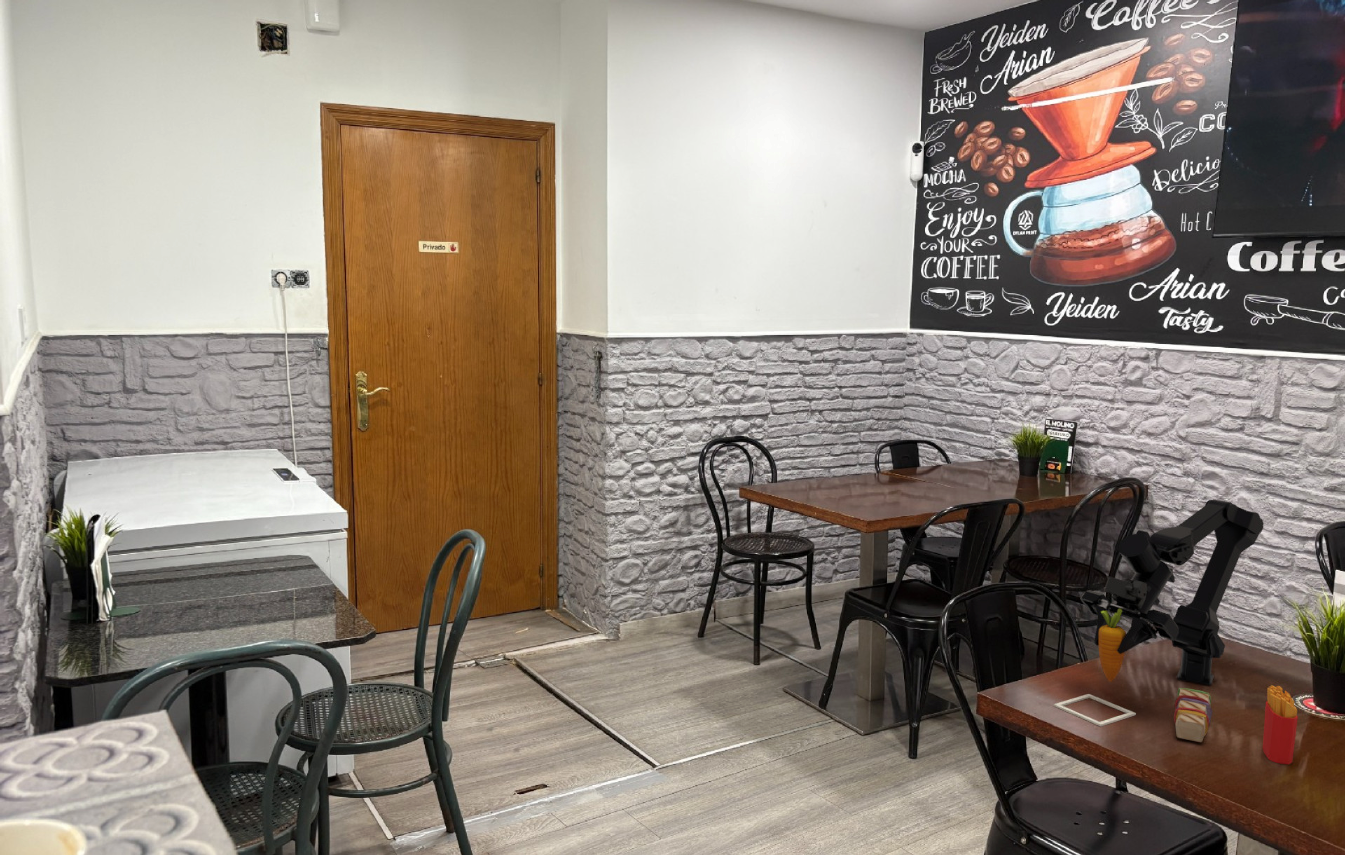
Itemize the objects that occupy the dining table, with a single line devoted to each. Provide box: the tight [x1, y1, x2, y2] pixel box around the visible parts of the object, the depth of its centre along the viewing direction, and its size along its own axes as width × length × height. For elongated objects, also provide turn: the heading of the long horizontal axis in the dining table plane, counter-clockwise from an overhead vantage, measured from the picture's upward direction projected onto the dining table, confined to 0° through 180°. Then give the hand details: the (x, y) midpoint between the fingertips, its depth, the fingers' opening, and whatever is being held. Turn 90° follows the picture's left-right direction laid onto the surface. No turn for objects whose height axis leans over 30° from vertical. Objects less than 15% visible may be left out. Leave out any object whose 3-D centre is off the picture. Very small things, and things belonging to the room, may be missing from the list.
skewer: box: [1173, 687, 1213, 743], centre depth 185 cm, size 21×6×5 cm, turn 149°
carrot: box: [1098, 608, 1127, 683], centre depth 191 cm, size 5×5×15 cm
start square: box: [1053, 693, 1137, 727], centre depth 190 cm, size 11×11×1 cm
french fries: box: [1262, 684, 1299, 765], centre depth 171 cm, size 8×4×12 cm, turn 162°
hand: (1107, 648), depth 190 cm, fingers closed on carrot, 5 cm apart
